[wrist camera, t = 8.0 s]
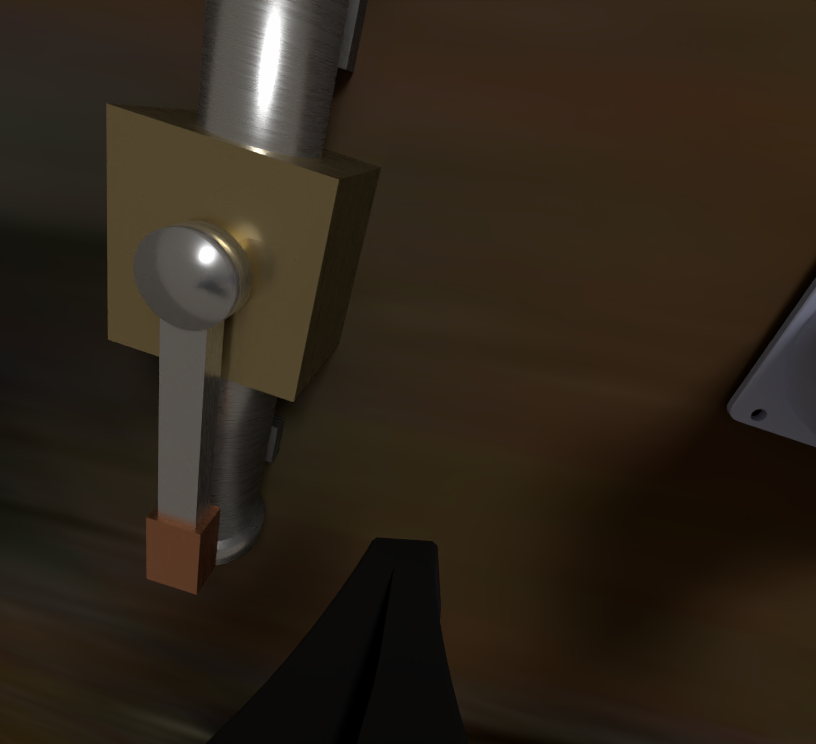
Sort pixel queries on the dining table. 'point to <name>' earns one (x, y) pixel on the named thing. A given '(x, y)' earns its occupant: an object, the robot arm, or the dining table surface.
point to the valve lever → (188, 387)
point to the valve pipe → (249, 218)
